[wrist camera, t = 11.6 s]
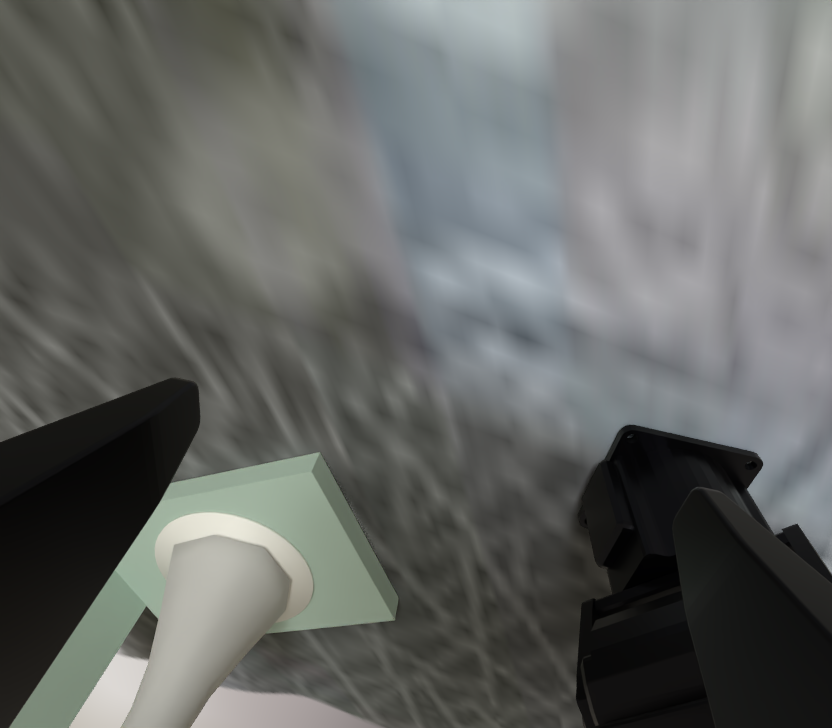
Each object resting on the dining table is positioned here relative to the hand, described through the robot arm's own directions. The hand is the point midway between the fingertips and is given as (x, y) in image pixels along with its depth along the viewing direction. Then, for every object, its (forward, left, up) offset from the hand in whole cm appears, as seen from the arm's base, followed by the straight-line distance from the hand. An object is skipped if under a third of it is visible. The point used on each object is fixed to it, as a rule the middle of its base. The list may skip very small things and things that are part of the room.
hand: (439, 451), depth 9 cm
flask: (+9, +22, -12) cm, 26 cm away
